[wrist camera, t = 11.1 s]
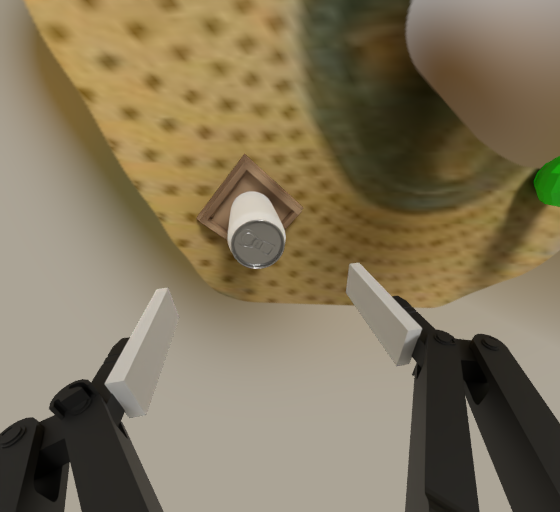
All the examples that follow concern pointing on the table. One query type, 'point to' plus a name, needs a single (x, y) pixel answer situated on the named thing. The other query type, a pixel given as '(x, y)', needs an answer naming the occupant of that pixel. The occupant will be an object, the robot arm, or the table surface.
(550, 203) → the plastic bottle
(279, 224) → the can
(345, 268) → the table surface
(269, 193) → the tray
